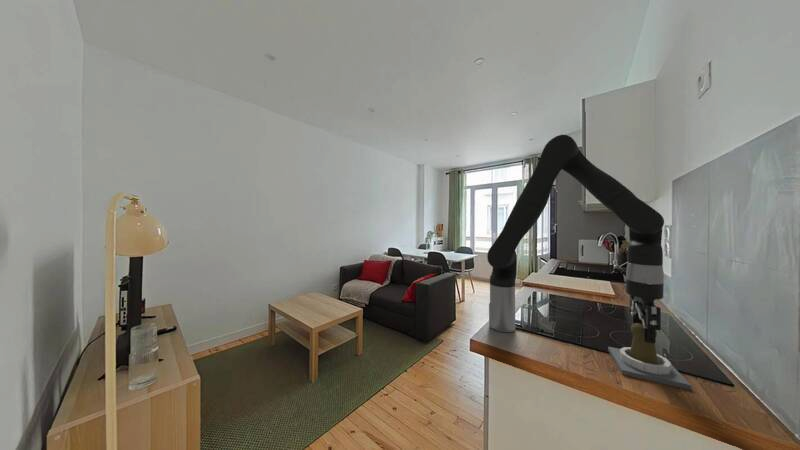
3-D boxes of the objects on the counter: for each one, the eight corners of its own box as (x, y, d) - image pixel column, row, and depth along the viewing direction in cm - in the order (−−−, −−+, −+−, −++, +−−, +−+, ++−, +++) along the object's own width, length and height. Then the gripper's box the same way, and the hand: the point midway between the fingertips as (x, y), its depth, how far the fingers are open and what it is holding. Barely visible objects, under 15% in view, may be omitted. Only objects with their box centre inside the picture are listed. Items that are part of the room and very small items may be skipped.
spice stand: (621, 374, 66) (621, 362, 66) (608, 350, 78) (608, 340, 78) (691, 390, 59) (691, 377, 59) (664, 361, 72) (664, 350, 72)
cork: (665, 370, 65) (665, 330, 65) (639, 368, 66) (639, 328, 66) (647, 358, 71) (647, 321, 71) (623, 356, 72) (623, 319, 72)
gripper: (619, 273, 76) (618, 323, 77) (635, 283, 64) (634, 343, 64) (651, 275, 73) (650, 328, 73) (675, 287, 60) (674, 351, 61)
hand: (643, 335), depth 69 cm, fingers open, 8 cm apart
